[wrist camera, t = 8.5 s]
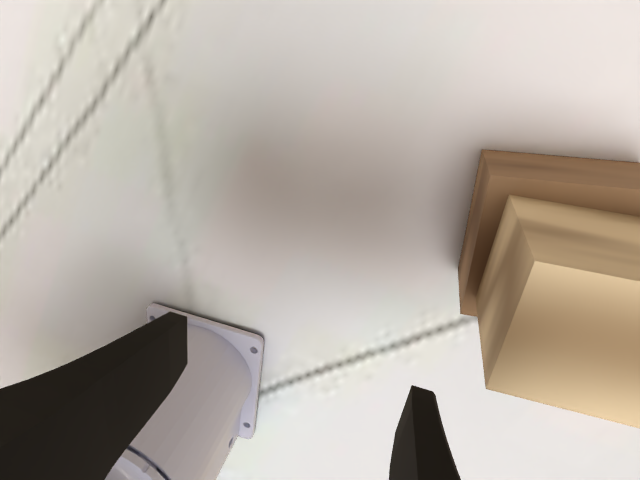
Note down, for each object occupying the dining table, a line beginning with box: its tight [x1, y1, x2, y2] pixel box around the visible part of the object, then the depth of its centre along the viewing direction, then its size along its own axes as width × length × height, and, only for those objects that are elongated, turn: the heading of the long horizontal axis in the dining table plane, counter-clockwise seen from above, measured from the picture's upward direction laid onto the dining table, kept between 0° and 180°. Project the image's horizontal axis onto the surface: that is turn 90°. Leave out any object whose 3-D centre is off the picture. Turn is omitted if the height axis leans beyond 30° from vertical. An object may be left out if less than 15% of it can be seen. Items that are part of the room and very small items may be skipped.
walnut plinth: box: [458, 150, 640, 317], centre depth 17 cm, size 6×6×4 cm
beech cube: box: [476, 195, 640, 428], centre depth 13 cm, size 4×4×5 cm
